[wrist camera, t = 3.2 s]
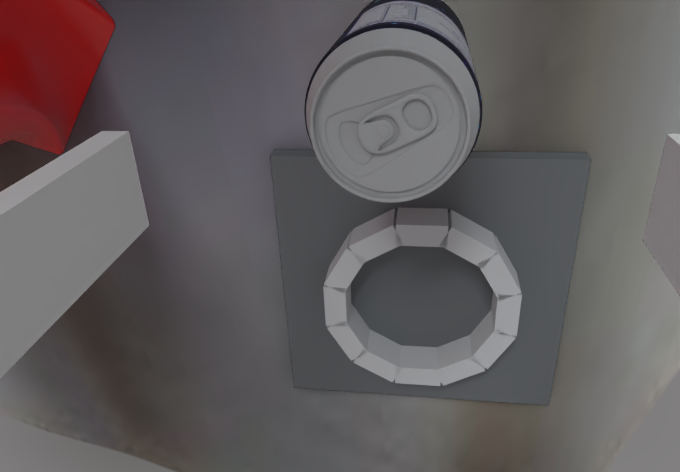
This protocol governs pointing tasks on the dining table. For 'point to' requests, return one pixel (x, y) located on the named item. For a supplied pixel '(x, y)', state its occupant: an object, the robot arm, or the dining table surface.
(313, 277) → the ring seat
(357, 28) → the beverage can
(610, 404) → the dining table surface
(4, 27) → the vase
